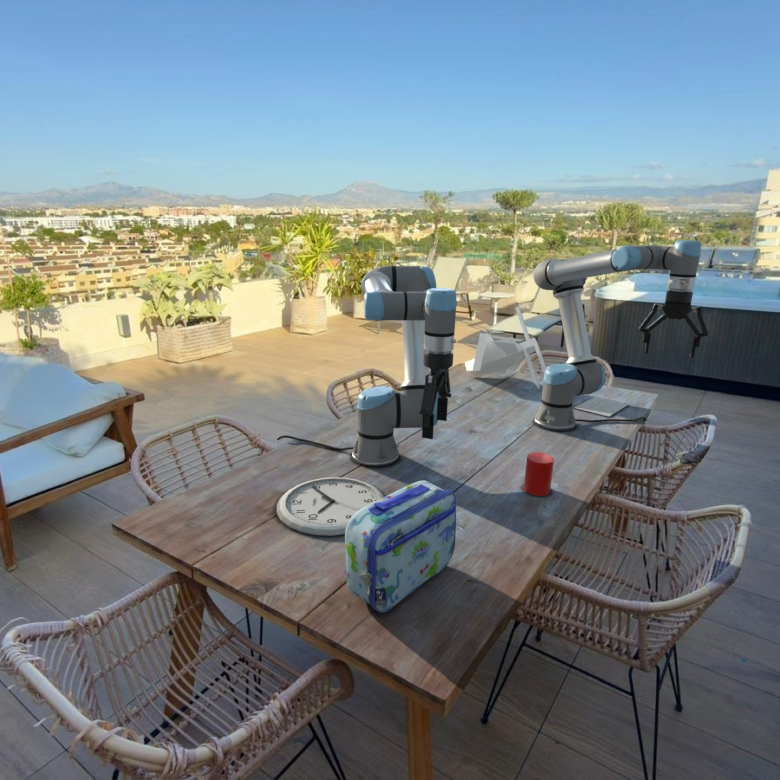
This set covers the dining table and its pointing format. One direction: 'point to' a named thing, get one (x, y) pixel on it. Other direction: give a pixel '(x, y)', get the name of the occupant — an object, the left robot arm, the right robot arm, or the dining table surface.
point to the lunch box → (399, 543)
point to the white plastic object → (503, 354)
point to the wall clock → (325, 504)
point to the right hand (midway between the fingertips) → (668, 354)
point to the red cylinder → (538, 474)
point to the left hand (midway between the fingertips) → (434, 428)
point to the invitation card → (601, 406)
